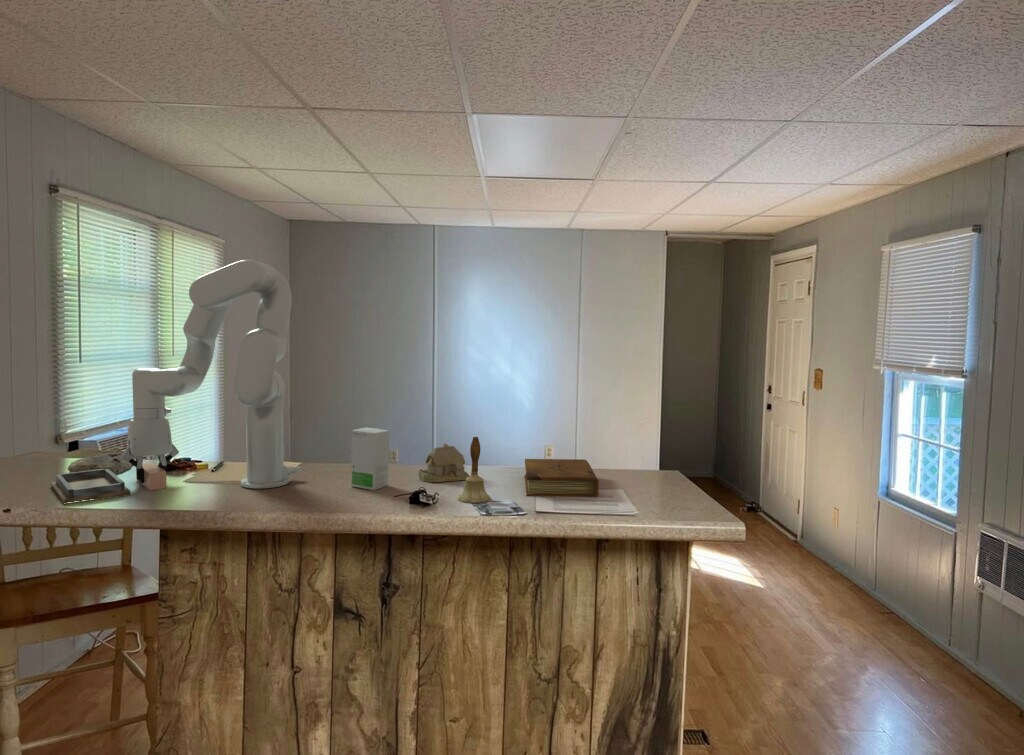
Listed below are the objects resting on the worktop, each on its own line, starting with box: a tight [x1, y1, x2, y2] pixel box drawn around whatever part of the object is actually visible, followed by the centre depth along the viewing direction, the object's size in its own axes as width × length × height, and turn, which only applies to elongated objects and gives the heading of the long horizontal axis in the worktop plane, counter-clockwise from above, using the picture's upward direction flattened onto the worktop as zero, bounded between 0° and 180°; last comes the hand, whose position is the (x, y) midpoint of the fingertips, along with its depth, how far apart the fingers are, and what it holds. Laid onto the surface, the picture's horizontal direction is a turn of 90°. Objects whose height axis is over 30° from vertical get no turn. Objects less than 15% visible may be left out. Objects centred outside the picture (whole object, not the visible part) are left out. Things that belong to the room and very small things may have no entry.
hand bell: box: [457, 436, 491, 504], centre depth 168 cm, size 8×8×16 cm
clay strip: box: [136, 462, 167, 491], centre depth 179 cm, size 4×14×4 cm, turn 42°
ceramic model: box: [418, 443, 471, 483], centre depth 191 cm, size 14×11×10 cm
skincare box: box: [350, 426, 390, 491], centre depth 180 cm, size 8×7×16 cm
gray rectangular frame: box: [50, 469, 131, 504], centre depth 172 cm, size 14×22×3 cm, turn 41°
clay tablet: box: [67, 451, 135, 475], centre depth 197 cm, size 14×5×20 cm
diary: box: [524, 458, 600, 498], centre depth 184 cm, size 23×19×6 cm
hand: (151, 480), depth 179 cm, fingers closed on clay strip, 4 cm apart
